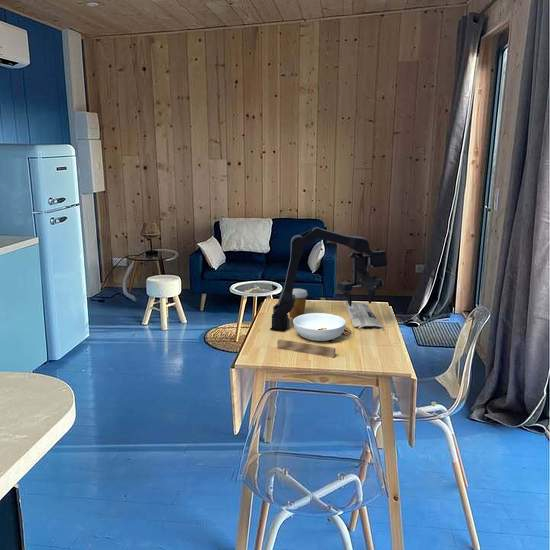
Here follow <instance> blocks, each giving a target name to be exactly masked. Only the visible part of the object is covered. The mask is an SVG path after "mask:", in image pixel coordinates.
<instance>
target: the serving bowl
mask: <svg viewBox="0 0 550 550" xmlns="http://www.w3.org/2000/svg"><path fill="white" fill-rule="evenodd" d="M292 321H293V326H294V330H295V331H296V332H297V334H298V335H299V336H301V337H303V338H305V339H307V340H311V341H317V342H320V341H321V342H323V341H325V342H326V341H330V340H334V339H337V338H338V337H340V336H341V335H342V334H343V333H344V331H345V329H346V325H347V320H346V319H345V318H343V317H342V316H339V315H336V314H331V313H323V312H311V313H304V314H303V315H300V316H298V317H296V318H295V319H294V318H293V320H292ZM321 328H327V329H326V330H318V329H321Z"/></svg>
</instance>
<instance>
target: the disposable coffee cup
mask: <svg viewBox="0 0 550 550" xmlns="http://www.w3.org/2000/svg"><path fill="white" fill-rule="evenodd" d="M293 295H295V297H296V299H295V302H294V308H293V307H292V310H291V311H290V312H289V313H288V316H289V318H291V319H293V320H294V319H295V318H296V317H298V316H300V315H303V314H305V310H306V309H305V308H306V303H307V302H306V301H307V296H308V295H309V294H308V290H307V289H303V288H293Z"/></svg>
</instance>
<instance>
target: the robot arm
mask: <svg viewBox="0 0 550 550" xmlns="http://www.w3.org/2000/svg"><path fill="white" fill-rule="evenodd" d="M317 239H321V240H324V241H328V242H330V243H336V244H339V245H343V246H346V247H348V248H349V249H351V250H352V251H351V252H350V254H348V257H349V259H350V258H351V259H353V269H351V273H352V274H353V277H352V278H353V279H351V283H350V282H348V281H340V282H338V283H337V285H336V288H337V290H338V291H340V292H342V293H343V295H344V297H345V299H346V301H347V302H348V304H349V306H351V305H352V295H353V289H354V288H362V289H363V290H365V291H367V301H368V304H369V305H370V304H372V301H373V299H374V298H375V297H374V296H375V294H376V292H377V291H379V290H380V289H381V288H383V287H384V281H383V279H381V278H380V277H379V276H378V275H373V276H371V274H370V270H369V269H368V266H371V269H372V268H373V269H374V268H375V269H376V268H387V266H388V259H387V258H388V257H387V253H386V250H375V251H373V250H372V248H371V247H370V243H369V241H368V240H367V239H366V238H365V237H363V236H360V235H346V234H342V233H339V232H335V231H331V230H327V229H324V228H320V227H319V226H316V227H315V226H314V227H313V228H311V229H309V230H308V231H305V232H303V233H301V234H296V235H293V236H292V237H291V239H290V259H289V263H288V266H287V267H288V268H287V271H286V278H285V282H284V286H283V288H282V291H281V294H280V295H279V298H278V299H277V303H276V304H275V305H273V306H272V314H271V327H270V328H269V330H271V331H276V332H283V333H285V332H286V331H287V330H289V329H290V327H291V326H290V317H289V312H290V311H291V310H292V307H293V308H294V302H295V299H296V297H295V295H293V289H295V288H294V286H295V283H296V278H297V273H298V269H299V263H300V260H301V258H302V255H303V253H304V251H305V250H306V246H307V245H310V244H311V243H312V242H314V241H315V240H317ZM363 253H364V254H363Z"/></svg>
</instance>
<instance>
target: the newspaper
mask: <svg viewBox="0 0 550 550" xmlns="http://www.w3.org/2000/svg"><path fill="white" fill-rule="evenodd" d="M344 302H345V306H346V309H347V312H348V316H349V318H350V321H351V323H352V326H353V327H355V328H358V330H359V331H365V328H364V327H370V329H371V330H373V331H377V330H378V331H384V329H385V327H383V325H382V324H381V322H380V321H379V320H378V318H377V317H376V315H375V314H374V313H373V310H371V308H370V307H369V306H368V304H366V303H364V302H355V301H353V302H352V305H351V306H349V304H348V301H347V300H344Z"/></svg>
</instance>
